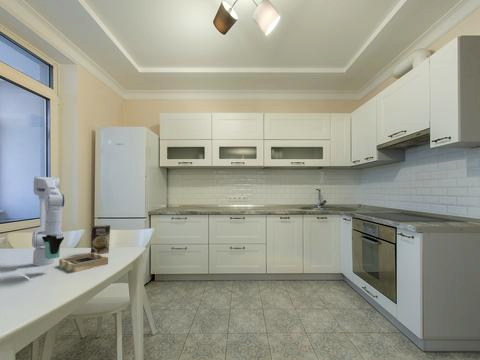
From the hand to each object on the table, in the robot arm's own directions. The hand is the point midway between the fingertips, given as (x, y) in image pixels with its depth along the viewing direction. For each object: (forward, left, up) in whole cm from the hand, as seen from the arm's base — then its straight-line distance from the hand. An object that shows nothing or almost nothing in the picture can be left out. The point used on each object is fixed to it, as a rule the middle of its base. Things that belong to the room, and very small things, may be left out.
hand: (52, 252), depth 103 cm
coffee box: (-17, +29, -10) cm, 35 cm away
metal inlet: (0, +13, -8) cm, 16 cm away
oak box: (0, +13, -9) cm, 16 cm away
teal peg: (0, 0, -2) cm, 2 cm away
